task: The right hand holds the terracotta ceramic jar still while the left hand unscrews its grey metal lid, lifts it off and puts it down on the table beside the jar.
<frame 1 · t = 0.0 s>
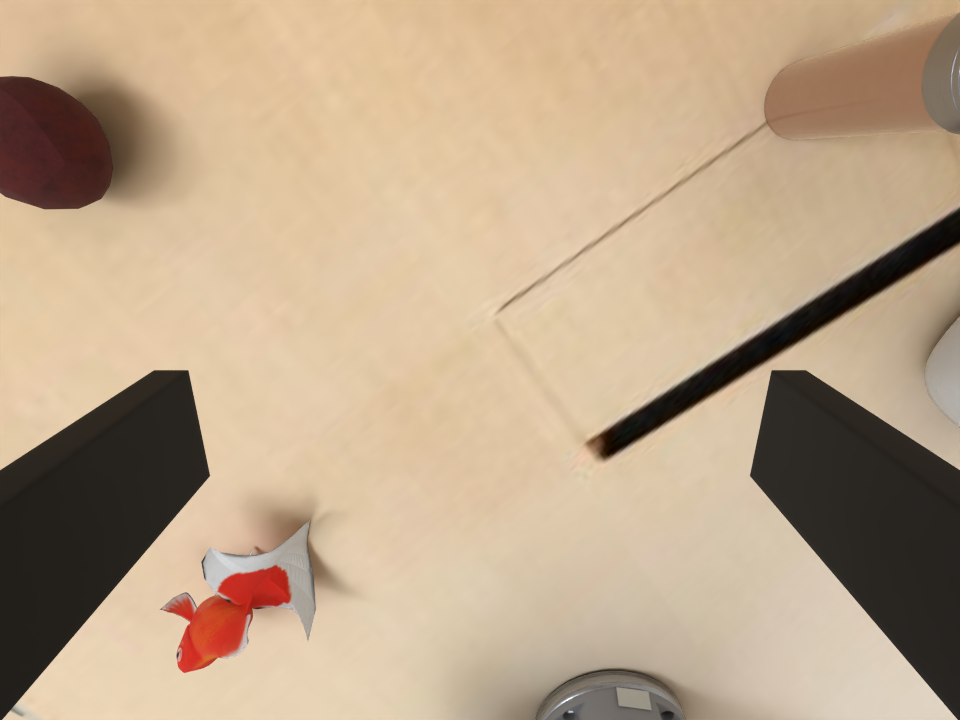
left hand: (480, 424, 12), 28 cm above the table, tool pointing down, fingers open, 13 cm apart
dark maroon ball: (82, 149, 36), on the table
fish: (262, 559, 48), on the table
jar: (801, 100, 35), on the table
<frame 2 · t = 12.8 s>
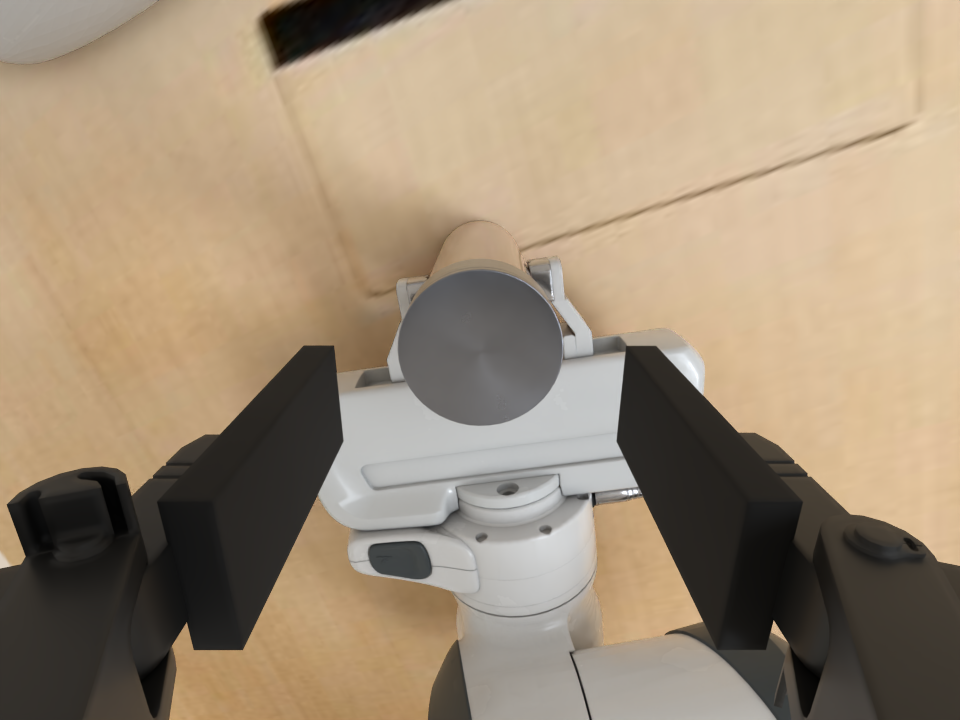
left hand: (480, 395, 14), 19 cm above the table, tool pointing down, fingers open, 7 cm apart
right hand: (476, 269, 25), fingers closed on jar, 5 cm apart
lid: (480, 348, 17), point 15 cm above the table, screwed on, not yet turned
jar: (480, 262, 32), on the table, touching right hand
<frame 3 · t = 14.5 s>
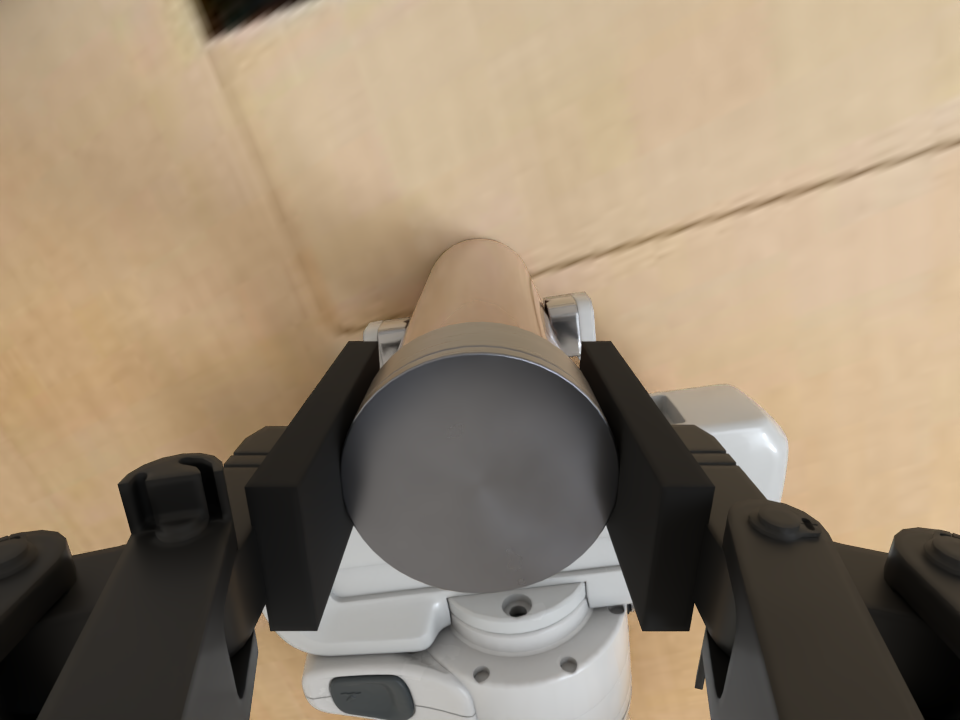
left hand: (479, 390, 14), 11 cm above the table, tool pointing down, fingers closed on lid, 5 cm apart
lid: (479, 474, 10), point 15 cm above the table, screwed on, not yet turned, touching left hand
jar: (479, 291, 25), on the table, touching right hand
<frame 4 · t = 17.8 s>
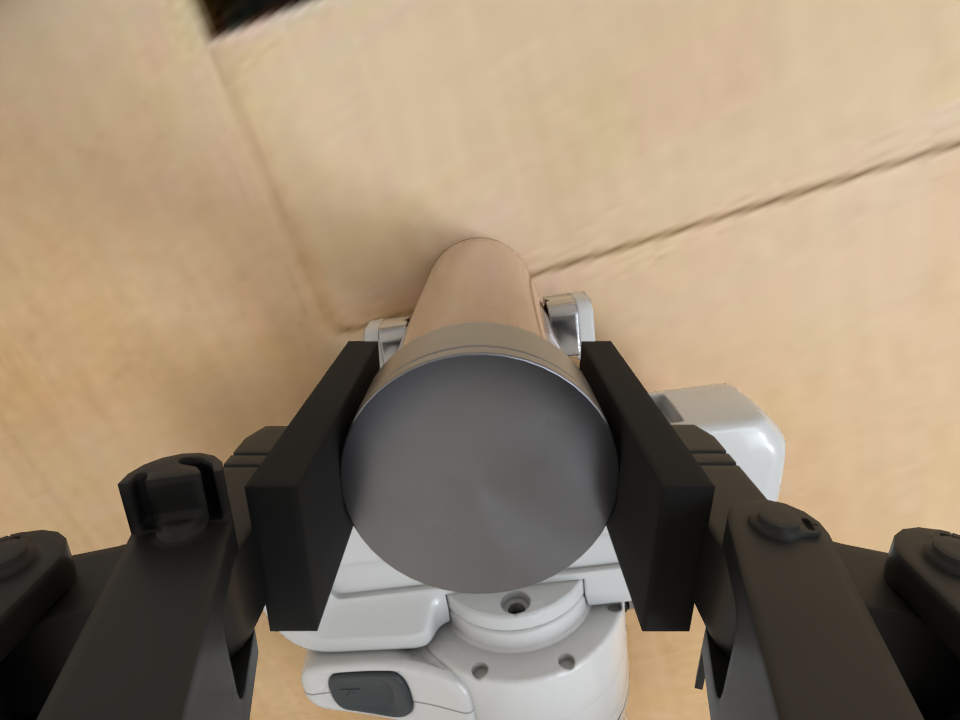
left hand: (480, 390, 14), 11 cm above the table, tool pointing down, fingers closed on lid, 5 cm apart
lid: (479, 474, 10), point 15 cm above the table, turned 120° so far, risen 0.1 cm, still on its thread, touching left hand
jar: (479, 290, 25), on the table, touching right hand
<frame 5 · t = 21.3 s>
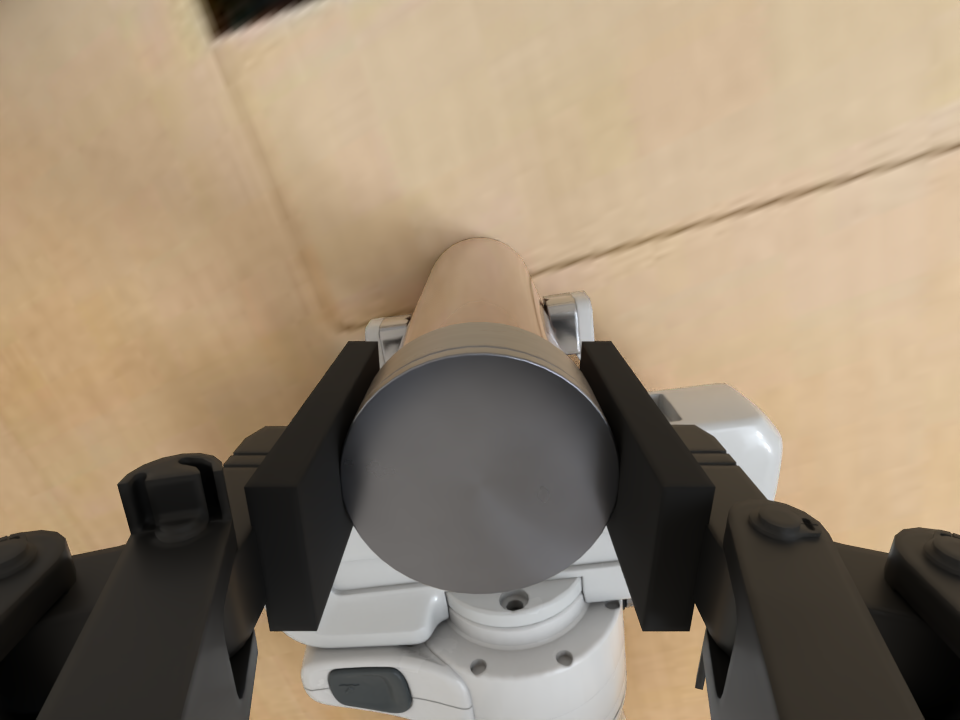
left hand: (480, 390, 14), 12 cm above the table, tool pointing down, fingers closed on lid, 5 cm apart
lid: (479, 474, 10), point 16 cm above the table, turned 239° so far, risen 0.3 cm, still on its thread, touching left hand
jar: (479, 289, 25), on the table, touching right hand
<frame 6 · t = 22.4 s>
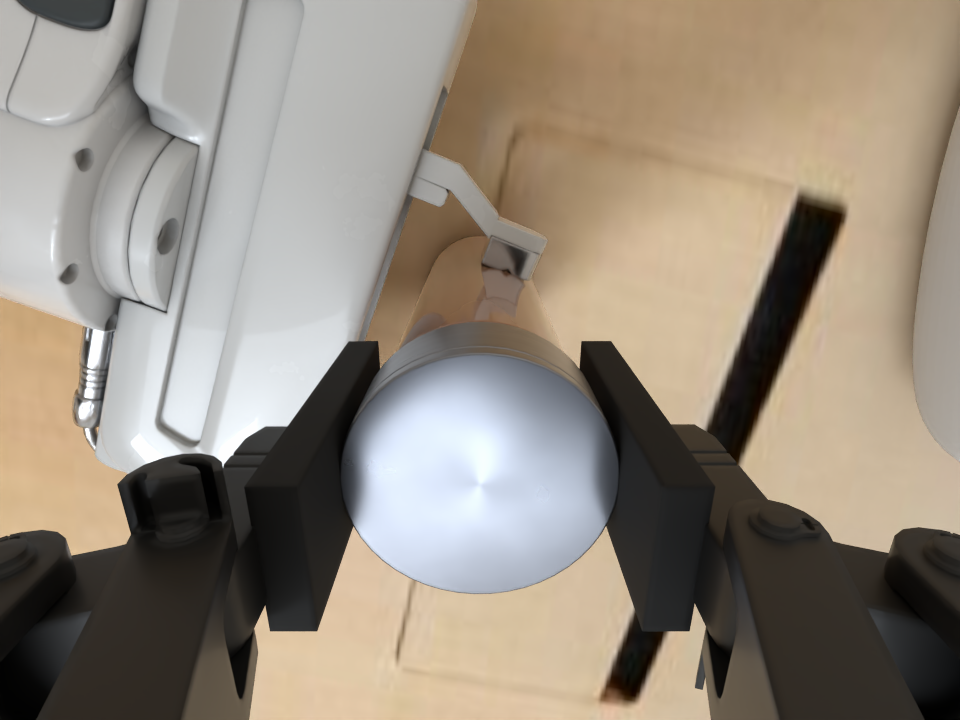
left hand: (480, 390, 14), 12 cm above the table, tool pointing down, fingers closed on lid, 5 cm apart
right hand: (503, 337, 19), fingers closed on jar, 5 cm apart
lid: (479, 474, 10), point 16 cm above the table, off its thread, touching left hand
jar: (479, 287, 25), on the table, touching right hand
when the left hand's fingers open (0 cm above the table, at t = 28.3 s): lid drops 3 cm, point 2 cm above the table.
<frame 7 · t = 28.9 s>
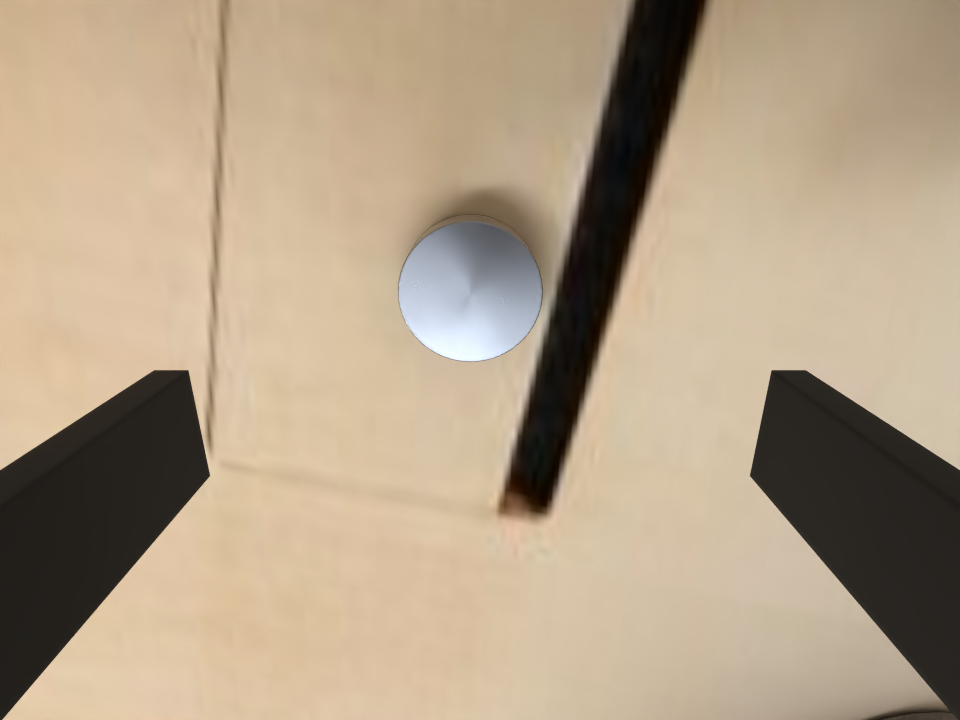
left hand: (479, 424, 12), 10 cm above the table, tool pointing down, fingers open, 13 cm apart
lid: (470, 292, 20), point 2 cm above the table, off its thread
when the right hand's fingers open (7 cm above the table, at t = 29.0 s): jar stays where it is, on the table.
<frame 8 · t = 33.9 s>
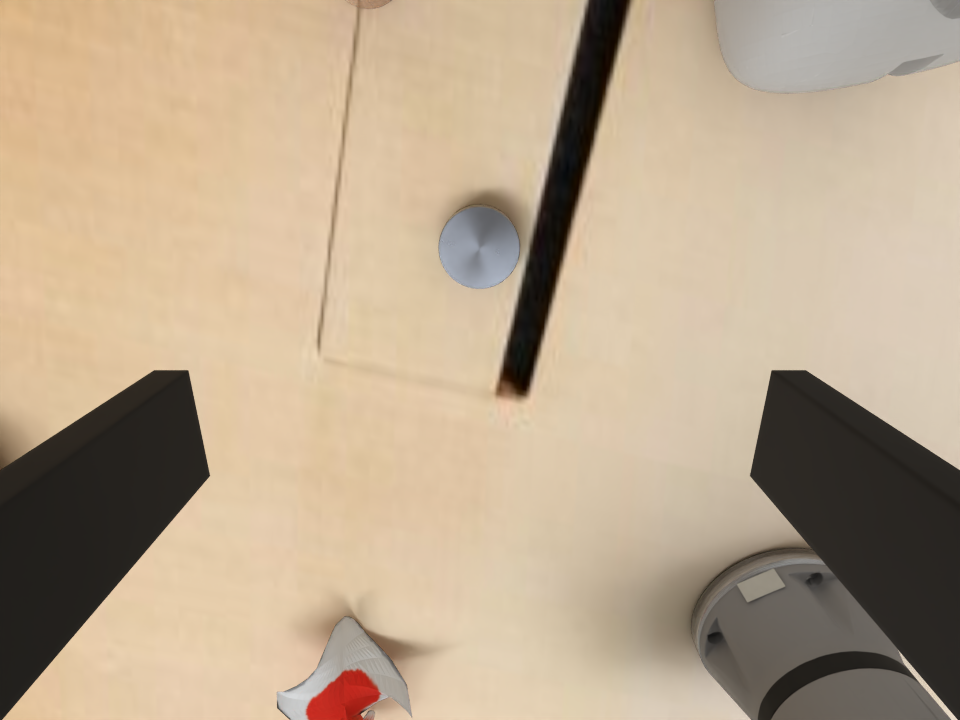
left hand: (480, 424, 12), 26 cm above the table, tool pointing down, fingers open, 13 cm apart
lid: (479, 248, 35), point 2 cm above the table, off its thread
fish: (350, 667, 50), on the table
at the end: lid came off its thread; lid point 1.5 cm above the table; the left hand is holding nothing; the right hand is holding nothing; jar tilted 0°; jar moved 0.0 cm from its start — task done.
